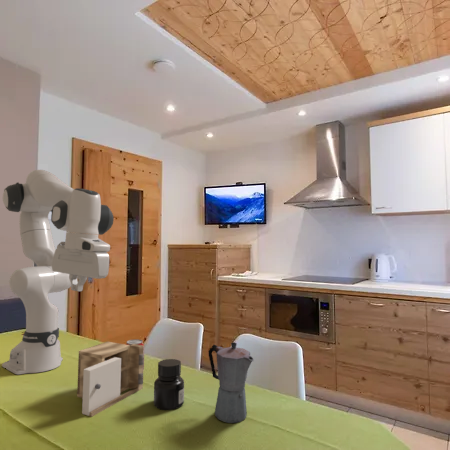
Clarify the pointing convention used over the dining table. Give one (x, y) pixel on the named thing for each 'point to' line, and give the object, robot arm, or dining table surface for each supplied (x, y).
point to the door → (101, 384)
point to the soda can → (136, 343)
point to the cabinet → (129, 367)
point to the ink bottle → (169, 385)
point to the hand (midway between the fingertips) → (76, 290)
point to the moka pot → (231, 382)
